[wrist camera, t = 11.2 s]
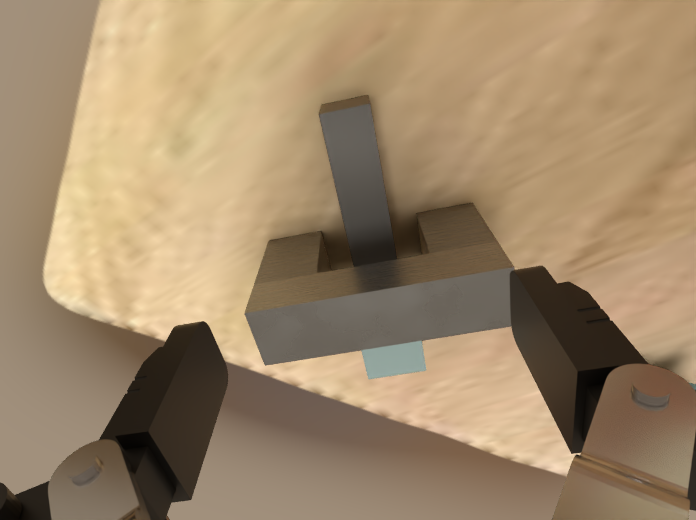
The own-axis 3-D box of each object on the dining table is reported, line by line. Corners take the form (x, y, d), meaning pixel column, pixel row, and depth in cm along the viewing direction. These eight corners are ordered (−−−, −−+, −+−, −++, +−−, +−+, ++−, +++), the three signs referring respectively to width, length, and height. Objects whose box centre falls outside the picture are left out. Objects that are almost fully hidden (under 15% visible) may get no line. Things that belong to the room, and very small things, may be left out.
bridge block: (472, 202, 32) (514, 266, 24) (475, 251, 33) (515, 325, 26) (268, 240, 33) (244, 313, 25) (283, 285, 35) (265, 365, 27)
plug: (309, 107, 28) (304, 120, 25) (379, 92, 28) (384, 104, 24) (367, 350, 38) (369, 384, 35) (419, 342, 38) (427, 376, 34)
